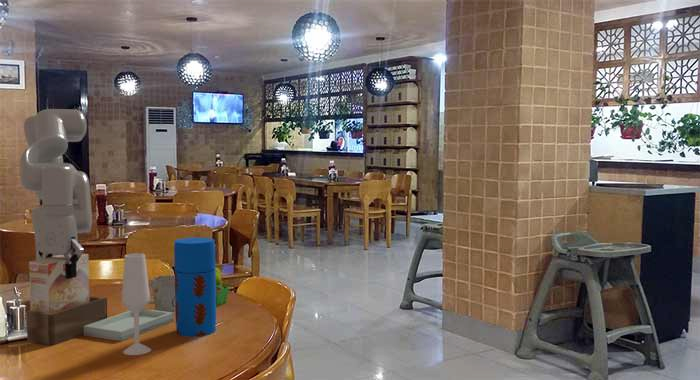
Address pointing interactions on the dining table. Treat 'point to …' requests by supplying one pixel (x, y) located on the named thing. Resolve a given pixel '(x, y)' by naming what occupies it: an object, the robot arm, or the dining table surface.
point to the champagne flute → (135, 295)
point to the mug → (163, 293)
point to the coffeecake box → (57, 284)
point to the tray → (127, 324)
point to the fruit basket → (220, 289)
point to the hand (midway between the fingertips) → (60, 276)
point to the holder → (64, 322)
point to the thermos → (195, 286)
